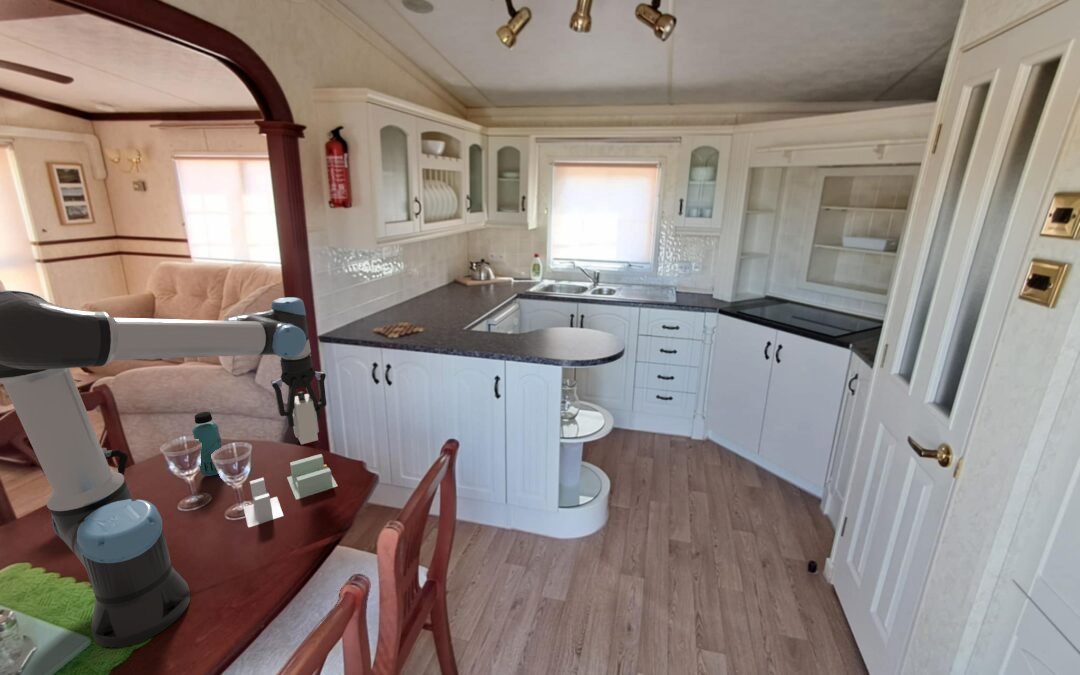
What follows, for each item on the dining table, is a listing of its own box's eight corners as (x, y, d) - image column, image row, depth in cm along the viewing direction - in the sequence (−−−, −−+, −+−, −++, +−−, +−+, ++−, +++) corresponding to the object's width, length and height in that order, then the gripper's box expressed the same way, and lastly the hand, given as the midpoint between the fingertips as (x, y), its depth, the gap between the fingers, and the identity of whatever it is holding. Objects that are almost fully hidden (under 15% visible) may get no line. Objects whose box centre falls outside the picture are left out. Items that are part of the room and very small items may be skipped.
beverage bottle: (203, 483, 137) (190, 421, 131) (199, 473, 142) (186, 413, 136) (229, 475, 141) (218, 414, 136) (225, 465, 146) (213, 407, 140)
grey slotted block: (284, 518, 123) (280, 492, 121) (248, 530, 119) (243, 503, 116) (277, 499, 131) (273, 474, 129) (243, 510, 126) (239, 484, 124)
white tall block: (318, 439, 133) (312, 394, 129) (301, 444, 130) (294, 398, 126) (313, 431, 137) (307, 387, 133) (296, 435, 135) (289, 390, 131)
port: (338, 489, 136) (336, 470, 135) (296, 502, 130) (293, 483, 128) (326, 468, 146) (324, 451, 144) (287, 480, 140) (284, 462, 138)
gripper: (326, 345, 134) (335, 419, 141) (256, 357, 124) (269, 436, 131) (333, 353, 129) (342, 429, 136) (260, 365, 119) (274, 447, 126)
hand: (306, 432), depth 133 cm, fingers closed on white tall block, 4 cm apart
